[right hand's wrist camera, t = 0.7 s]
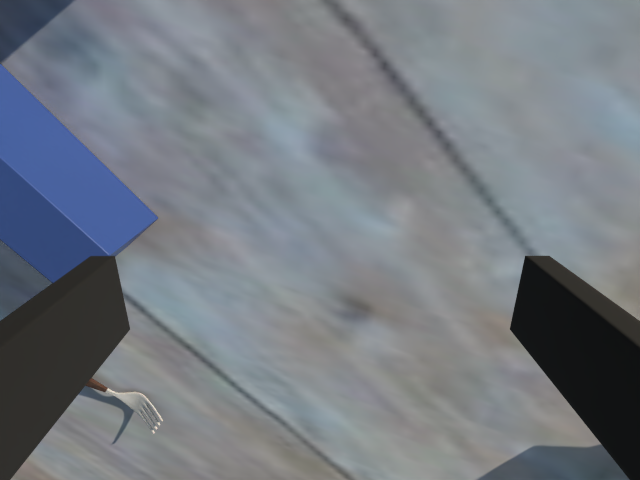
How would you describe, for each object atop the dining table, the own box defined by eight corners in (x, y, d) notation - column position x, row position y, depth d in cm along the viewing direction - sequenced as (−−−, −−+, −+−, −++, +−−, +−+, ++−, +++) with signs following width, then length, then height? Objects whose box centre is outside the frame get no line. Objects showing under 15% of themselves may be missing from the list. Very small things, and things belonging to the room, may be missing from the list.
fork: (32, 340, 41) (18, 352, 39) (170, 406, 44) (163, 420, 42) (24, 357, 41) (10, 370, 40) (160, 420, 45) (153, 435, 43)
